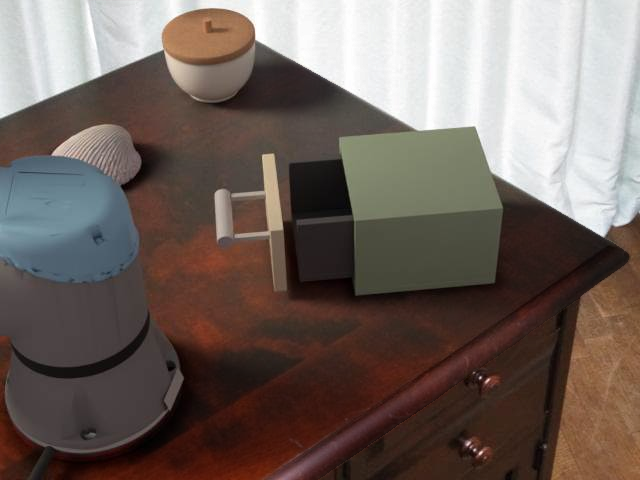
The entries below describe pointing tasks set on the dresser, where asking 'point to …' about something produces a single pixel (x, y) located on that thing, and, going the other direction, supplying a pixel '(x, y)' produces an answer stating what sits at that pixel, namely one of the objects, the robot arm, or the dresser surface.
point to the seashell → (104, 151)
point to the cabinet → (421, 210)
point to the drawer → (300, 219)
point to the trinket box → (210, 52)
